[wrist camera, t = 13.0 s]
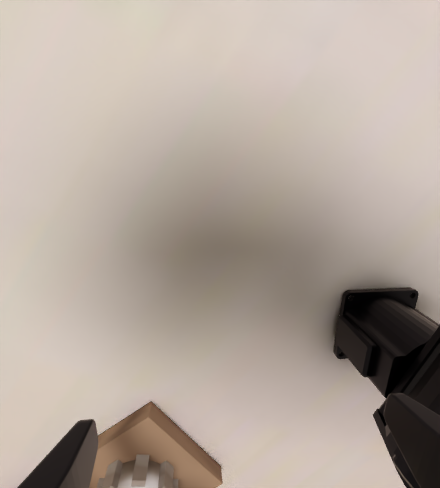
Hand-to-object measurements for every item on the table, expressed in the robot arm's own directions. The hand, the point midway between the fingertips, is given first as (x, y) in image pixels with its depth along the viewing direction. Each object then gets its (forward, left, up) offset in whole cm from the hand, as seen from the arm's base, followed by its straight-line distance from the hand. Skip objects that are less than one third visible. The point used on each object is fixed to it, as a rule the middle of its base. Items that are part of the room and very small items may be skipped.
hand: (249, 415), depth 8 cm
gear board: (+10, +23, -13) cm, 28 cm away
